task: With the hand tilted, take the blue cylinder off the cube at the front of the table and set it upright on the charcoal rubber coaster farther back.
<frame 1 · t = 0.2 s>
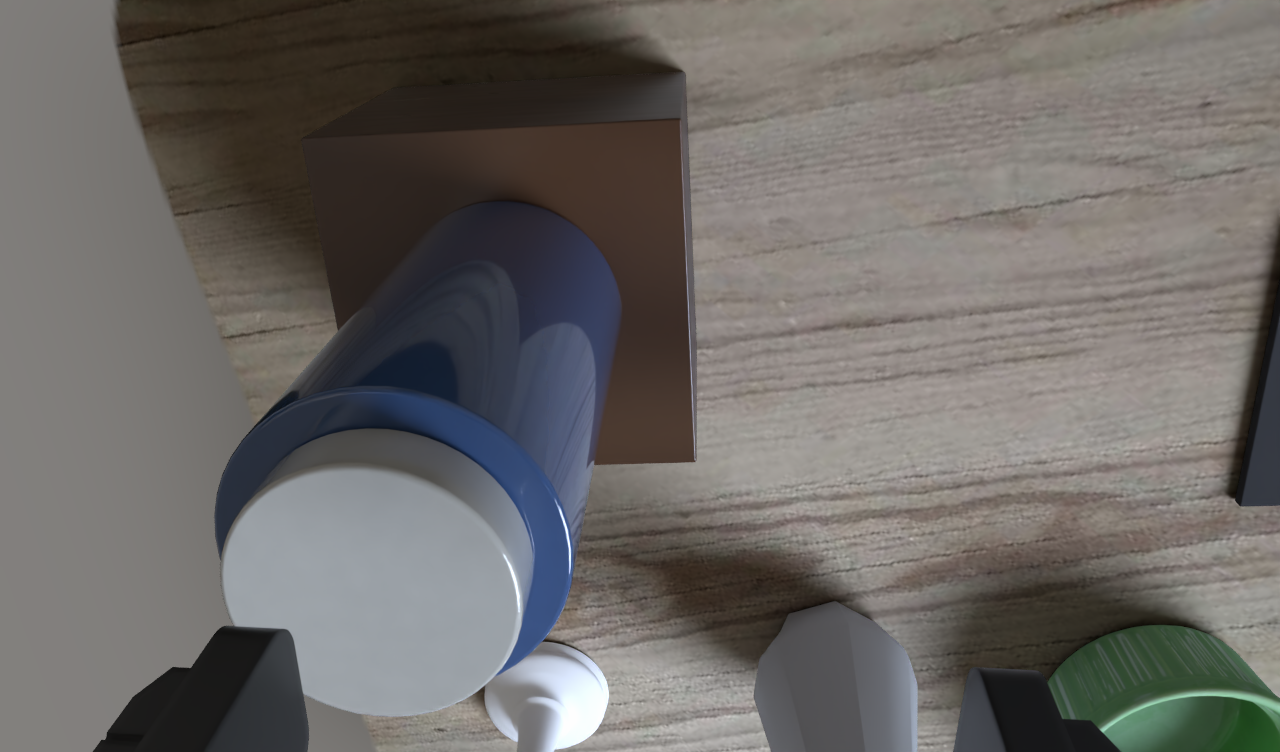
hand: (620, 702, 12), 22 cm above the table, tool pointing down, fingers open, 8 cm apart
ramekin: (1138, 700, 40), on the table
cube: (551, 223, 33), on the table
blue cylinder: (509, 309, 26), point 8 cm above the table, touching cube
salt shaker: (826, 642, 39), on the table
chess piece: (547, 687, 41), on the table
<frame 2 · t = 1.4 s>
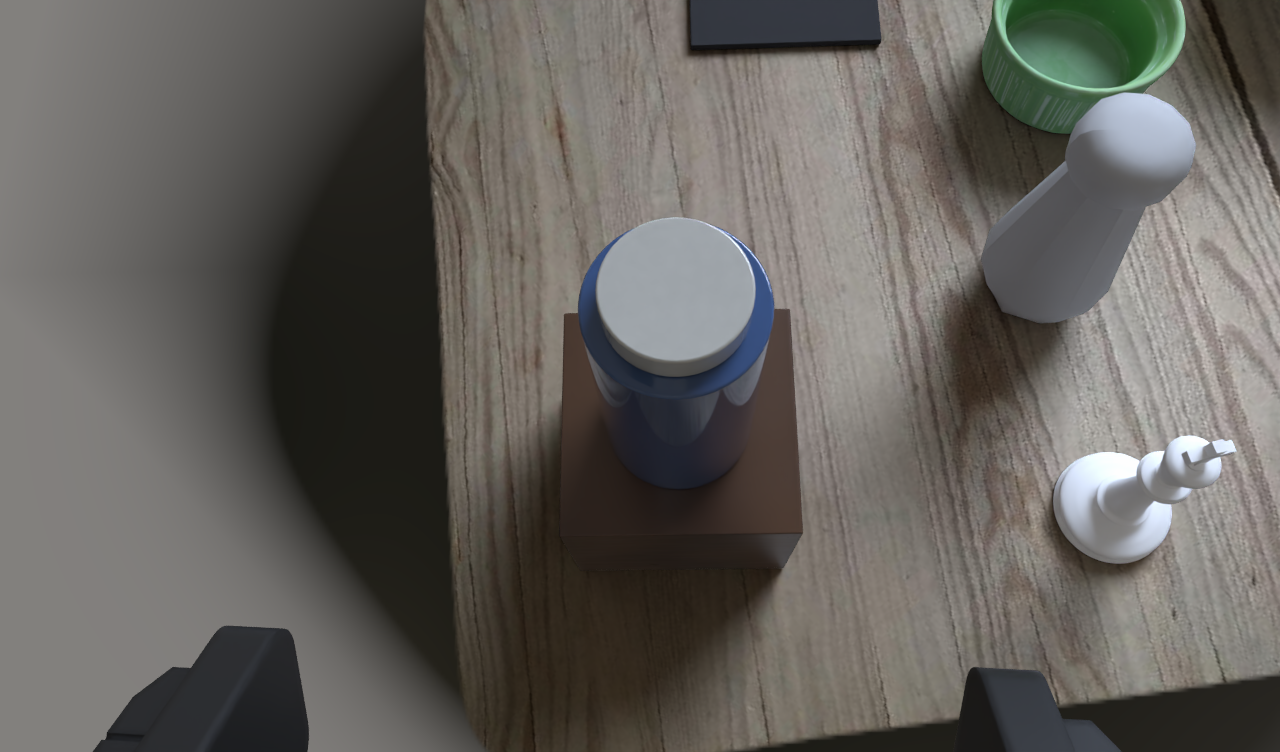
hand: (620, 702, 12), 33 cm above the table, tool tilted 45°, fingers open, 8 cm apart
ramekin: (1057, 73, 53), on the table
cube: (679, 470, 47), on the table
blue cylinder: (678, 418, 39), point 8 cm above the table, touching cube
salt shaker: (1029, 284, 49), on the table
chess piece: (1107, 509, 46), on the table
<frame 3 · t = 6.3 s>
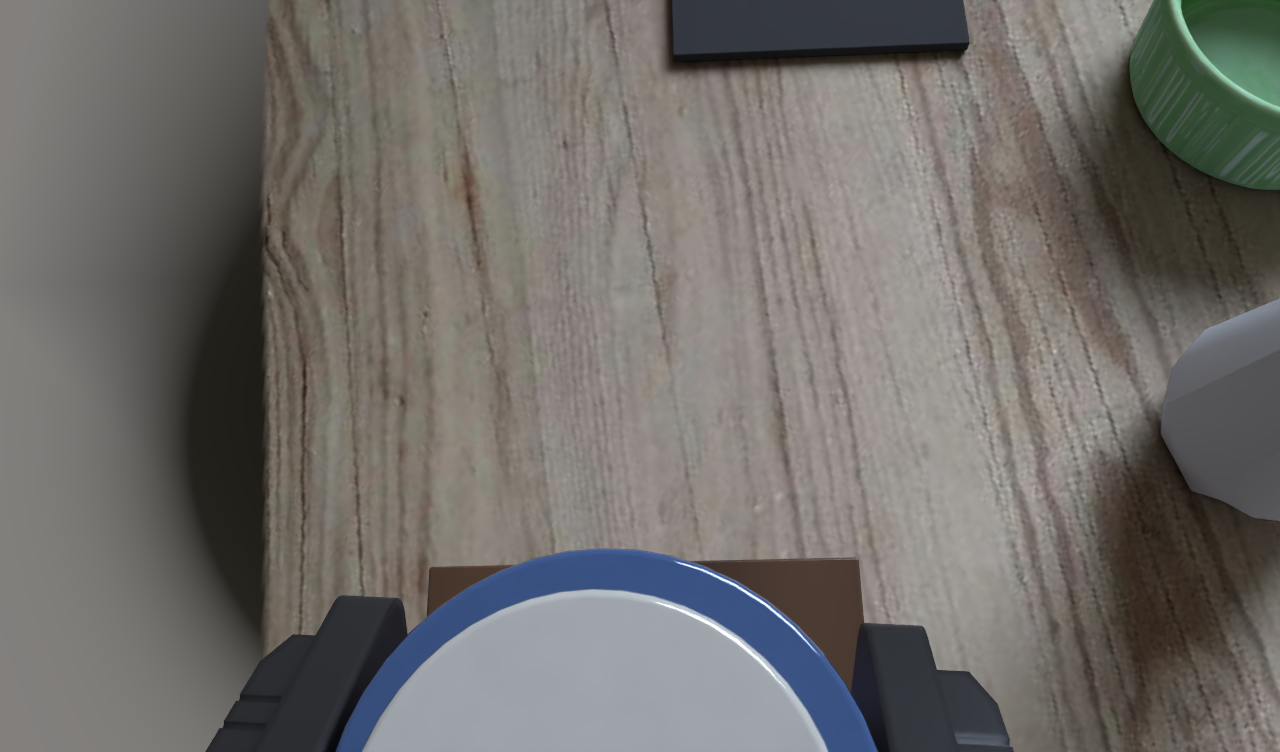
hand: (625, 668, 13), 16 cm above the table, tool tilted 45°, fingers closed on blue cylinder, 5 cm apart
ramekin: (1247, 93, 34), on the table
salt shaker: (1231, 442, 30), on the table
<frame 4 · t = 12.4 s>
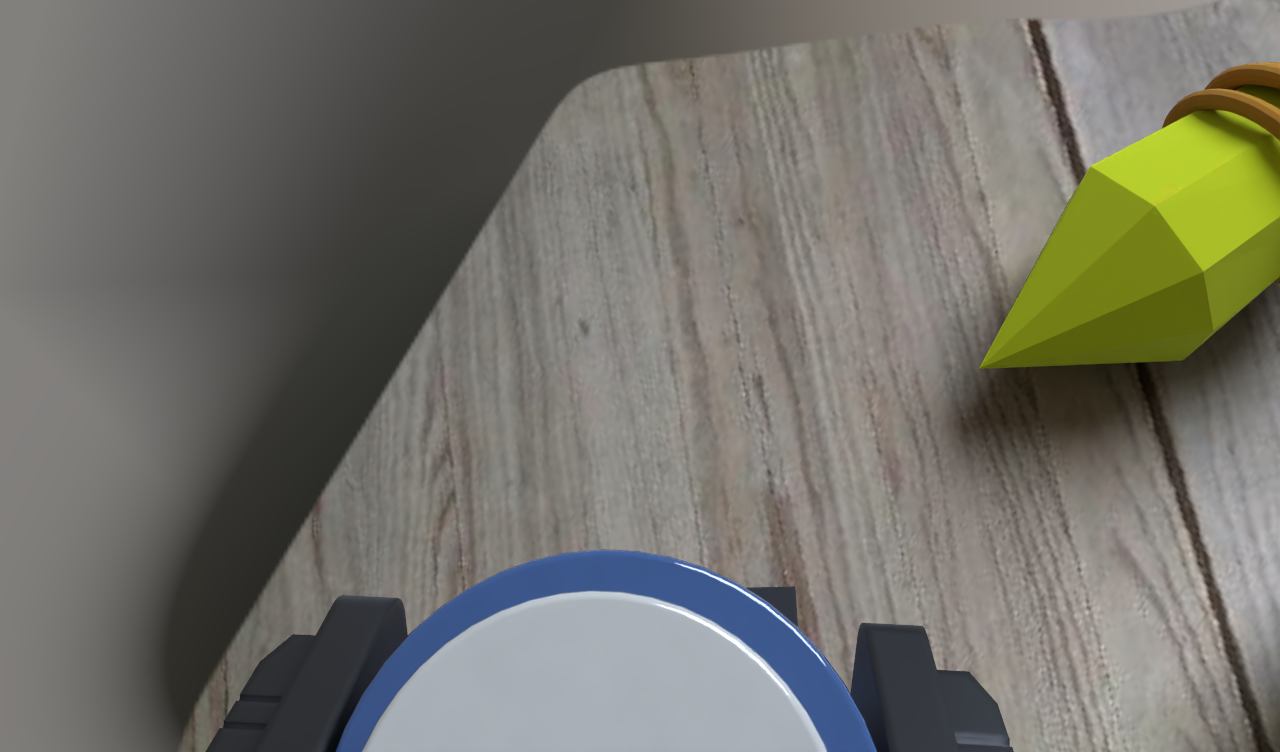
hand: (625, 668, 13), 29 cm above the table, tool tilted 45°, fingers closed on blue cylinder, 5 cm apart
coaster: (673, 721, 40), on the table
plumb bob: (1182, 250, 46), on the table
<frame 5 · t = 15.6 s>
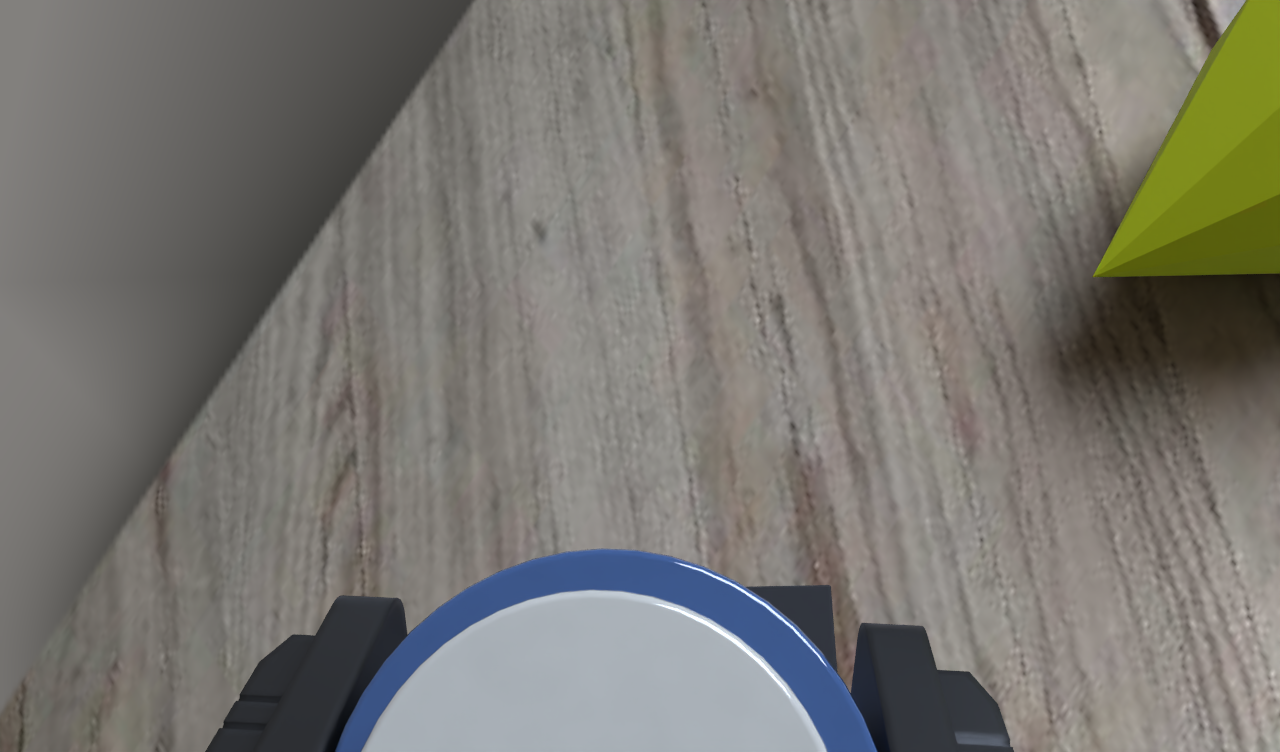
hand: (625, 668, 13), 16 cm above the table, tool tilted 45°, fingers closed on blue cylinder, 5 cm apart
when the fingers open (9 cm above the table, at t = 18.3 s): blue cylinder stays where it is, resting on coaster.
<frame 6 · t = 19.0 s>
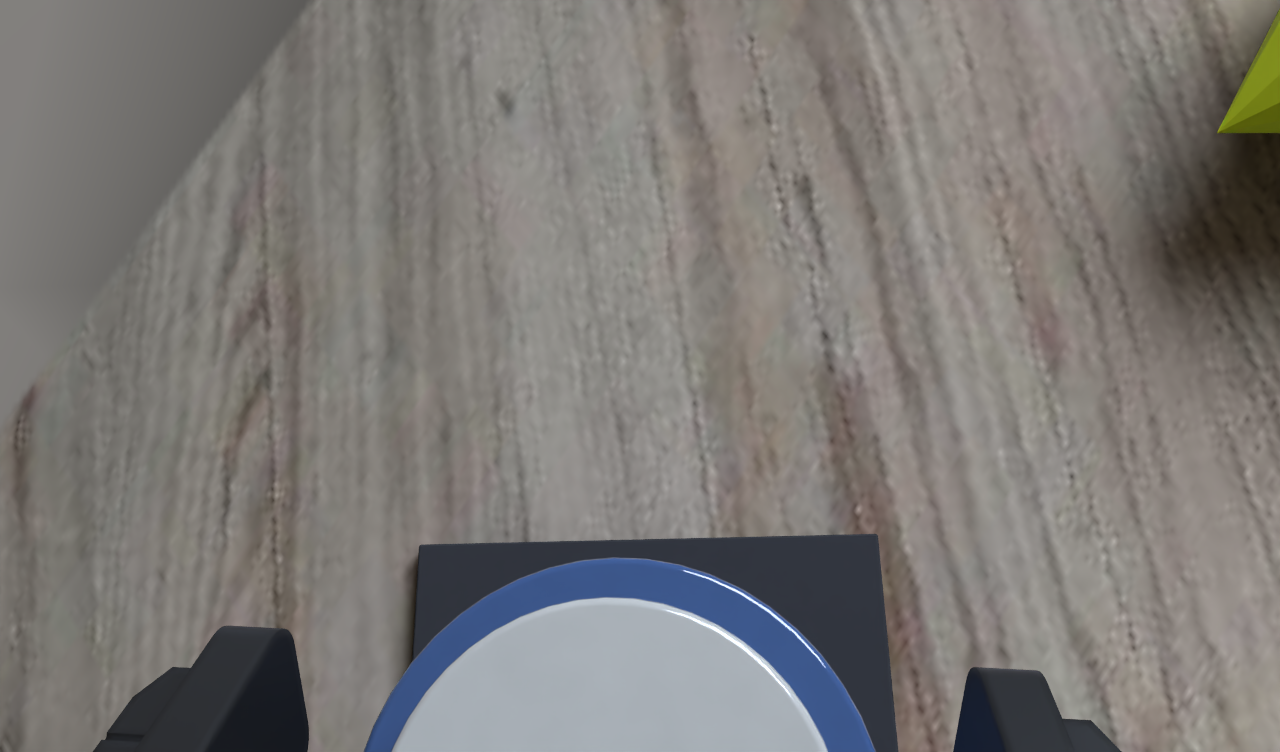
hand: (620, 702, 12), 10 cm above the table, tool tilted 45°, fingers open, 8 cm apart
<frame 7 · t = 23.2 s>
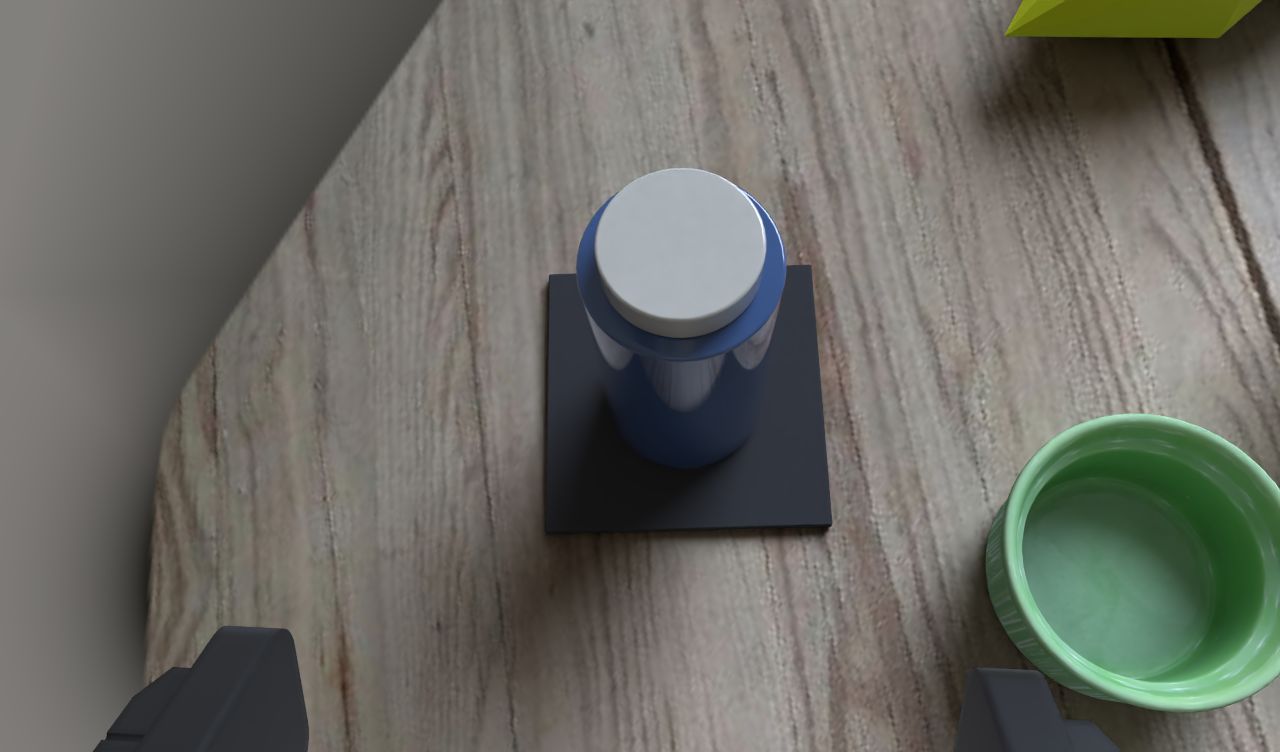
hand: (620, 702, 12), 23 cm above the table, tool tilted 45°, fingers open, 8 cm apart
ramekin: (1100, 579, 35), on the table
blue cylinder: (685, 394, 37), resting on coaster
coaster: (683, 396, 38), on the table
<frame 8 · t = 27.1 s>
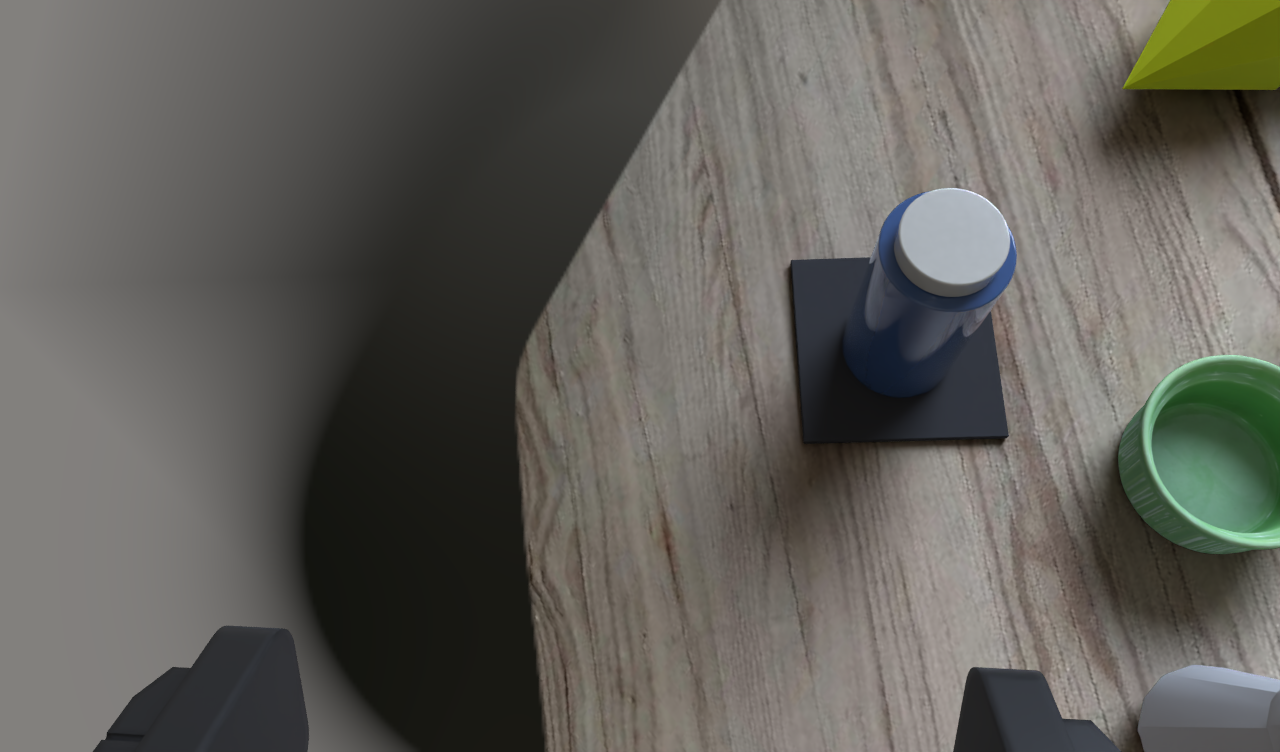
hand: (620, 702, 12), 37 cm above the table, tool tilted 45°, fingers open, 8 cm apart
ramekin: (1198, 474, 50), on the table
blue cylinder: (897, 346, 52), resting on coaster
salt shaker: (1184, 736, 46), on the table
coaster: (894, 347, 53), on the table
plumb bob: (1270, 19, 59), on the table
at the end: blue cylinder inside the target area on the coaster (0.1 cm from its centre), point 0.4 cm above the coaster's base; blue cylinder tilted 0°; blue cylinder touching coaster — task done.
